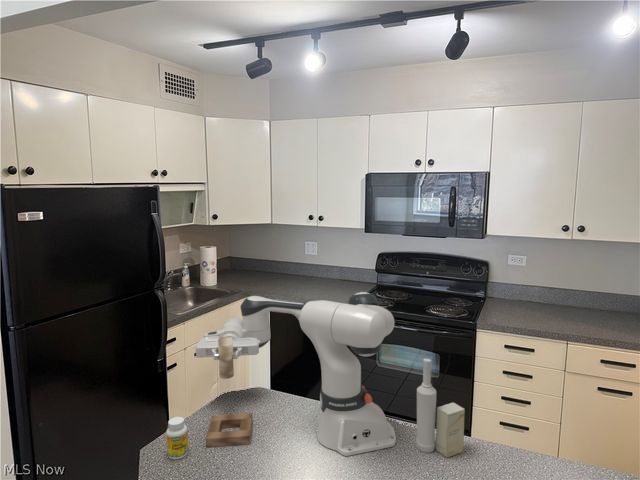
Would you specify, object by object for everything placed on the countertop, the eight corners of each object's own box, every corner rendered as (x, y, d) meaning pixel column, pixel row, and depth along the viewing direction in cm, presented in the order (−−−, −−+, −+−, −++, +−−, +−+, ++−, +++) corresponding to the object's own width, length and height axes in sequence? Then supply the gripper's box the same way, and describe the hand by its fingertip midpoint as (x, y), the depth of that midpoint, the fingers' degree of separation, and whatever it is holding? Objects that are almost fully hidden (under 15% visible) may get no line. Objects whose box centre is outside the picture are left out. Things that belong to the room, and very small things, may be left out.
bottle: (420, 439, 118) (421, 354, 115) (437, 445, 115) (440, 359, 112) (412, 448, 114) (414, 361, 111) (430, 455, 111) (433, 365, 108)
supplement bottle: (185, 445, 117) (183, 412, 115) (191, 455, 112) (189, 421, 111) (165, 452, 114) (163, 418, 112) (170, 462, 109) (168, 428, 108)
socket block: (252, 420, 129) (252, 413, 128) (249, 444, 117) (249, 435, 116) (212, 423, 127) (212, 415, 127) (205, 447, 116) (205, 438, 115)
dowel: (234, 372, 135) (233, 336, 133) (233, 378, 130) (231, 341, 129) (220, 373, 134) (218, 337, 133) (218, 379, 130) (217, 341, 128)
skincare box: (446, 458, 110) (448, 415, 108) (434, 449, 114) (435, 407, 112) (464, 451, 113) (465, 408, 111) (452, 442, 117) (453, 401, 115)
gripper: (260, 348, 146) (259, 365, 132) (200, 351, 143) (192, 368, 130) (260, 330, 145) (258, 345, 131) (199, 333, 143) (191, 349, 129)
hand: (225, 357), depth 130 cm, fingers closed on dowel, 4 cm apart
